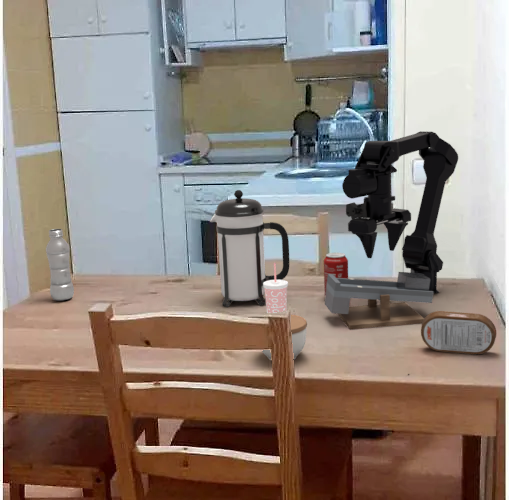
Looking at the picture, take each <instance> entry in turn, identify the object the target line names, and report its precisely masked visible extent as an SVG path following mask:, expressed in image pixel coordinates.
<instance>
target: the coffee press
mask: <svg viewBox="0 0 509 500" xmlns="http://www.w3.org/2000/svg"><path fill="white" fill-rule="evenodd" d="M233 195H234V197H235V198H232V199H231V198H230V199H226V200H223V201H222V202H220V203H218V204H217V206H216V210H214V214H213V216H212V217H211V219H210V220H209V223H216V233H217V243H218V244H217V245H218V260H219V263H218V264H219V275H220V276H219V277H220V291H221V295H222V296H223V300H222V304H221V305H222V307H224V308H229V307H230V306H231V304H232V303H233V302H248V301H256V303H257V305H259V306H260V307H261V306H264V305H266V298H265V297H264V296H265V289H264V287H263V283H264V282H265V281H268V280H274V275H266V266H265V265H266V264H265V263H266V261H265V242H264V241H265V240H264V239H265V238H264V230H275V231H277V232H278V233H279V234H280V237H281V247H282V248H281V249H282V250H281V251H282V269H281V271H280V272H279V273H278V274H276V280H285V278H286V277H287V276H288V273H289V271H290V243H289V236H288V232H287V229H285V227H284V226H283V225H282V224H280V223H277V222H274V221H273V222H272V221H271V222H264V218H263V217H264V215H263V214H264V212H265V208H264V207H263V206H262V204H261V203H260V202H259V200H256V199H253V198H245V197H244V198H242V197H243V196H244V193H243V191H242V190H241V189H237V190H235V191H234V194H233Z"/></svg>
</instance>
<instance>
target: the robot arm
mask: <svg viewBox="0 0 509 500" xmlns="http://www.w3.org/2000/svg"><path fill="white" fill-rule="evenodd" d="M417 151H418V156H419V157H420V158H421V160H423V165H422V168H423V172H424V174H425V177H426V179H425V185H424V187H423V193H422V196H421V202H420V206H419V211H418V215H417V220H416V224H415V228H414V230H413V232H412V233H411V234H410V235H409V234H406V235H405V237H404V242H403V245H402V248H401V250H402V252H401V253H402V259H403V261H404V266H405V268H406V269H410V273H422V274H424V275H425V276H427V277H428V278H430V285H429V291H433V292H434V293H433V294H439V293H440V290H438V289H437V288H438V287H437V286H438V284H437V283H438V276H437V275H438V273H440V271H441V270H443V266H444V261H443V260H442V259H441V258H440V256H439V254H437V250H438V244H437V240H436V238H435V235H434V234H435V229H436V226H437V220H438V216H439V211H440V208H441V204H442V203H441V202H442V198H443V194H444V189H445V185H446V182H447V181H448V180H449V179H450V177H452V175H454V172H455V169H456V167H457V164H458V161H459V154H458V152H457V150H456V148H454V147H453V146H452V145H451V144H450V143H449V142H447V141H445V140H444V139H442V138H440V136H439V135H438V134H437V133H436V132H434V131H418V132H416V133H413V134H410V135H407V136H403V137H400V138H399V137H398V138H395V139H392V140H369V141H367V142H365V144H364V147H363V149H362V151H361V153H360V156H359V158H358V160H357V162H356V165H355V166H354V168H351V169H348V175H346V176H345V177H344V179H343V182H342V185H341V186H342V190H343V193H344V194H345V196H346V197H347V198H349V199H357V198H361V197H364V198H363V203H360V204H356V202H350V203H347V204H346V205H345V212H346V213H345V215H346V216H347V217H348V218H350V220H349V222H347V231H348V232H351V234H352V235H355V236H356V237H358V239H359V240H360V242H361V244H362V248H363V250H364V252H365V255H366V258H367V259H372V258H373V255H374V251H375V246H376V241H377V235H378V232H376V231H377V228H378V226H379V225H382V224H383V225H384V227H385V228H386V229H387V240H388V241H387V242H388V249H389V251H390V252H392V251H393V252H394V251H395V249H396V246H397V245H398V243H399V241H400V238H401V237H402V234H403V233H404V231H405V229H406V228H407V226H408V225H409V222H411V221H412V213H411V212H410V210H409V209H403V208H394V207H393V203H392V202H393V201H396V196H395V195H393V194H392V193H393V192H392V174H394V173H397V172H398V170H397V168H396V167H394V165H393V164H394V163H396V162H398V160H400V157H402V156H404V155H405V156H406V155H408V154H411V153H414V152H417Z"/></svg>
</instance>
